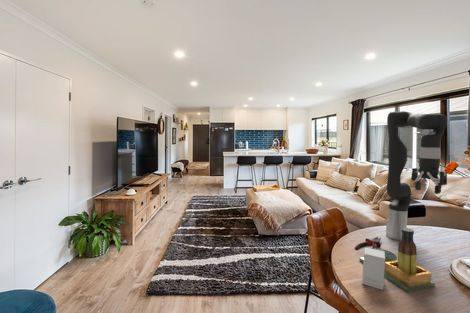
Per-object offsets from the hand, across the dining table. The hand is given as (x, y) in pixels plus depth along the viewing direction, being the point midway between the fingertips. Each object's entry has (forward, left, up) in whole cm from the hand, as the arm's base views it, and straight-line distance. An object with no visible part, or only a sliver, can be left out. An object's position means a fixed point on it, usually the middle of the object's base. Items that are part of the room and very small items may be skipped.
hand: (427, 191), depth 110 cm
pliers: (-20, -11, -35) cm, 41 cm away
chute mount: (+4, -22, -34) cm, 41 cm away
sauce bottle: (+10, -22, -33) cm, 41 cm away
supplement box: (+8, -37, -34) cm, 51 cm away
